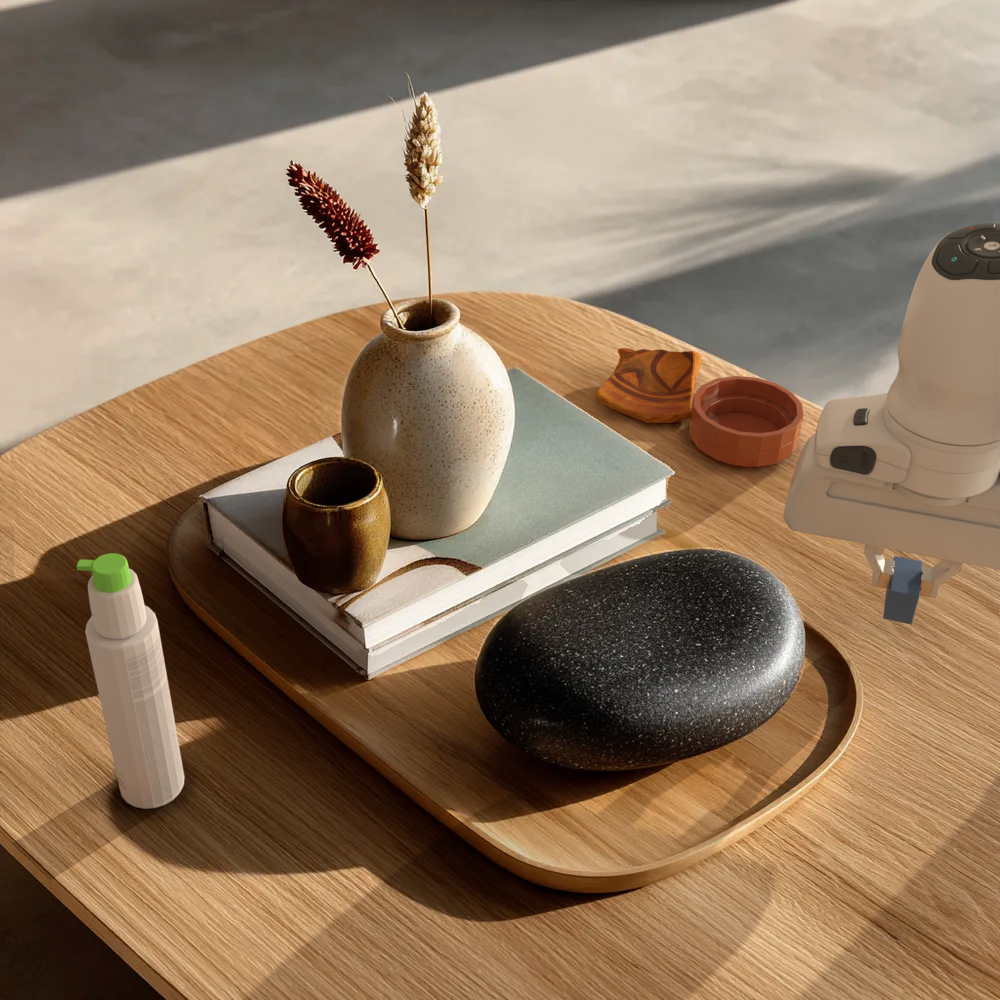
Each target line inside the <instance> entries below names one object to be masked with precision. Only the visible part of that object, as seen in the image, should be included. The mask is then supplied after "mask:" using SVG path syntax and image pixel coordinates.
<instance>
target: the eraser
mask: <svg viewBox="0 0 1000 1000" xmlns="http://www.w3.org/2000/svg"><path fill="white" fill-rule="evenodd" d="M892 560H893V561H895V563H894V573H893V578H892V580H891V582H890V587H889V589H885V598H884V607H883V616H882V618H883V620H888V621H893V622H896V623H897V622H898V623H902V624H907V625H913V621H914V617H915V614H916V610H917V607H918V604H919V600H920V597H921V595H920V579H921V569H922V566H923V561H922V560H917V559H912V558H908V557H902V556H897V555H894V556H893V558H892Z"/></svg>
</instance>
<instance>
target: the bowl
mask: <svg viewBox="0 0 1000 1000" xmlns="http://www.w3.org/2000/svg"><path fill="white" fill-rule="evenodd" d="M804 415H805V414H804V409H803V403H802V402H801V401H800V400H799V398H798V397H797V396H796V395H795V394H794V393H793V392H792V391H790V390H789V389H787V388H785V387H784V386H782V385H781V384H778V383H776V382H773V381H770V380H766V379H763V378H759V377H755V376H754V377H753V376H741V375H732V376H731V375H730V376H725V377H718V378H717V377H716V378H714V379H712V380H710V381H707V382H706V383H703V384H702V385H700V386H699V387H698V389H697V390H696V391H695V392H694V395H693V402H692V409H691V416H690V419H689V429H688V430H689V431H688V432H689V438H690V439H691V441H692V442H693V443H694V445H695V446H696V447H697V449H698V450H700V451H701V452H703V453H704V454H706V455H708V456H709V457H711V458H712V459H714V460H716V461H718V462H720V463H724V464H727V465H730V466H734V467H742V468H761V467H766V466H770V465H776V464H778V463H781V462H782V461H785V460H786V459H787V458H790V457H791V456H792V455H793V453H794V452H795V451H796V449H797V448H798V445H799V441H800V436H801V431H802V427H803V421H804Z"/></svg>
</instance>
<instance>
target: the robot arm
mask: <svg viewBox="0 0 1000 1000" xmlns="http://www.w3.org/2000/svg"><path fill="white" fill-rule="evenodd" d="M897 359H898V371H897V374H896V377H895V378H894V380H893V382H892V383H891V385H890V387H889V388H888V391H887V392H886V393H885V392H884V393H880V394H872V395H865V396H854V397H843V398H834V399H831V400H829V401H827V402H826V403H825V405H824V406H823V408H822V411H821V412H820V416H819V418H818V421H817V424H816V425H817V426H816V428H815V429H816V430H815V433H813V434H812V435H811V436H810V437H809V438H808V440H807V441H806V442H805V443H804V446H803V448H802V450H801V452H800V454H799V457H798V459H797V462H796V464H795V466H794V470H793V473H792V476H791V480H790V483H789V487H788V491H787V495H786V499H785V504H784V508H783V510H784V511H783V515H782V519H783V521H784V522H785V524H786V525H787V527H788V528H789V529H790V530H791V531H793V532H797V533H803V534H808V535H813V536H819V537H824V538H828V539H829V538H830V539H835V540H839V541H846V542H851V543H856V544H860V545H861V544H862V545H864V548H863V555H864V556H865V559H866V560H867V562H868V564H869V567H870V568H871V570H872V574H871V580H870V587H875V588H880V589H884V590H886V589H889V587H890V582H891V580H892V578H893V573H894V563H895V561H893V559H888V558H885V556H884V550H885V549H887V550H892V551H898V552H903V553H907V554H912V555H913V554H914V555H919V556H922V557H923V556H924V557H929V558H934V559H940V560H939V562H938V563H936V564H935V565H934V566H933V567H931V566H930V567H929V566H923V565H922V569H921V579H920V597H925V598H930V599H935V600H936V599H937V598H938V594H939V591H940V587H941V585H943V584H945V583H946V582H947V581H949V580H950V579H951V578H953V577H955V576H956V575H957V574H958V573H960V572H961V570H962V569H961V568H962V566H963V564H965V565H971V566H975V567H981V568H986V569H991V570H997V571H1000V222H986V223H978V224H972V225H967V226H964V227H960V228H957V229H955V230H953V231H951V232H950V233H948V234H946V235H945V236H944V237H942V238H941V239H940V240H939V241H938V242H937V243H936V244H935V245H934V247H933V248H932V249H931V251H930V252H929V254H928V256H927V258H926V259H925V261H924V263H923V265H922V266H921V269H920V271H919V273H918V275H917V278H916V280H915V282H914V286H913V288H912V291H911V295H910V298H909V301H908V304H907V308H906V310H905V315H904V318H903V323H902V327H901V331H900V336H899V340H898V345H897Z"/></svg>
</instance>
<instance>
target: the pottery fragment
mask: <svg viewBox="0 0 1000 1000" xmlns="http://www.w3.org/2000/svg"><path fill="white" fill-rule="evenodd" d="M617 353H618V355H619V358H618V363H617V364H616V367H615V368H614V370H613V373H612V374H611V375H610V376H609V377H608V378H607V379H606V381H605V382H604V383H603V384H602V385H601V386H600V387H599V388H598V389H597V391H596V392H595V393H594V395H593V398H595V399H596V400H597V401H598V402H599V403H601V404H602V405H604V406H606V407H607V408H609V409H612V410H615V411H616V412H619V413H621V414H623V415H626V416H627V417H630V418H634V419H637V420H639V421H641V422H643V423H646V424H674V423H677V422H681V421H686V420H690V416H691V409H692V402H693V395H694V394H695V389H696V384H697V377H698V374H699V371H700V369H701V367H702V363H703V359H702V355H701V353H700V352H698V351H695V350H685V351H671V350H666V349H646V348H640V349H638V350H637V349H632V348H630V347H620V348H618V349H617Z"/></svg>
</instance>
